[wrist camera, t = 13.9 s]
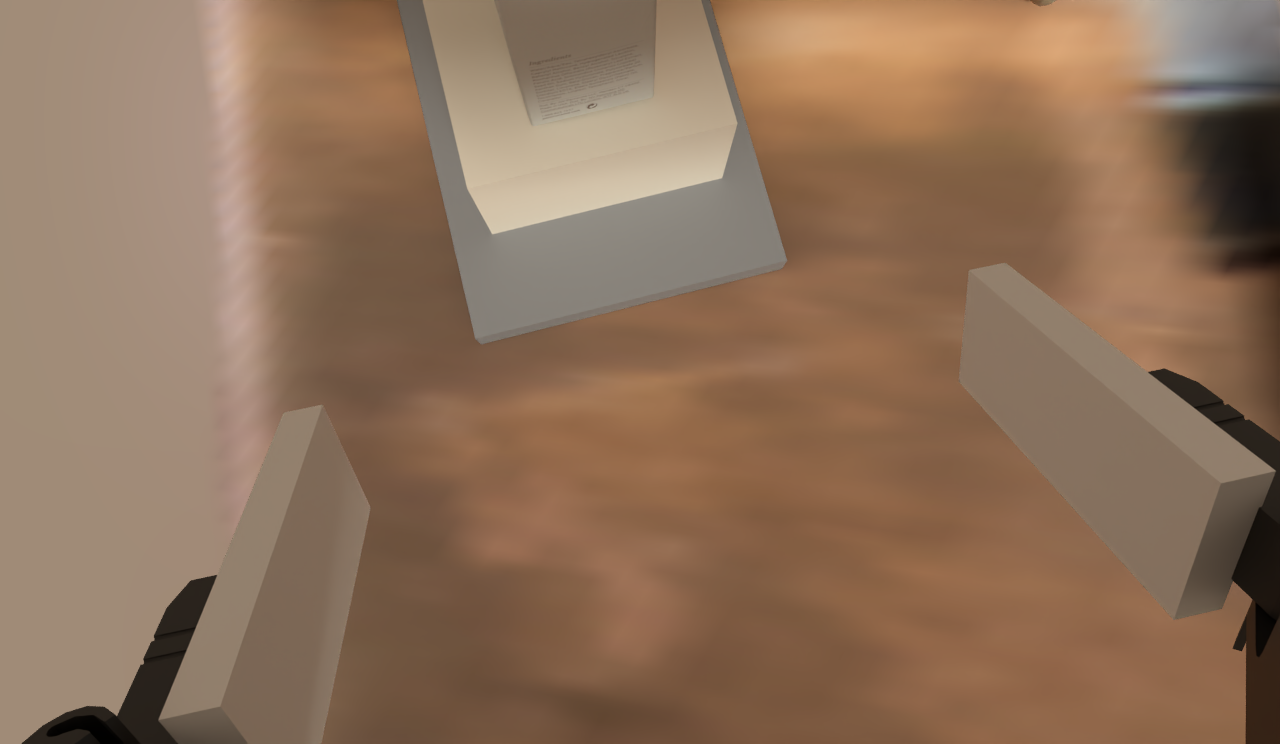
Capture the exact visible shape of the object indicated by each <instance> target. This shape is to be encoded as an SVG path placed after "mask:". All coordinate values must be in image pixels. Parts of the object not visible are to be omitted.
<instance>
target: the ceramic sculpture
mask: <svg viewBox="0 0 1280 744" xmlns="http://www.w3.org/2000/svg"><path fill="white" fill-rule="evenodd" d="M1031 1H1032V2H1033V3H1034V4H1036V5H1038V6H1046V5H1049V4H1051V3H1053V2H1054V1H1056V0H1031Z"/></svg>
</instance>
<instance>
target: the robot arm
mask: <svg viewBox="0 0 1280 744" xmlns="http://www.w3.org/2000/svg"><path fill="white" fill-rule="evenodd" d="M959 382H960V384H961V385H962V386H963V387H964V388H965V389H966V390H967V391H968V392H969V394H970V395H971V396H972V397H973V398H974V399H975V400H976V401H977V402H978V403H979V405H980V406H981V407H982V408H983V409H984V410H985V411H986V412H987V413H988V415H989V416H990V417H991V418H992V419H993V420H994V421H995V422H996V423H997V425H998V426H999V427H1000V428H1001V429H1002V430H1003V431H1004V432H1005V433H1006V435H1007V436H1008V437H1009V438H1010V439H1011V440H1012V441H1013V442H1014V443H1015V444H1016V446H1017V447H1018V448H1019V449H1020V450H1021V451H1022V452H1023V453H1024V454H1025V456H1026V457H1027V458H1028V459H1029V460H1030V461H1031V462H1032V463H1033V464H1034V466H1035V467H1036V468H1037V469H1038V470H1039V471H1040V472H1041V473H1042V474H1043V476H1044V477H1045V478H1046V479H1047V480H1048V481H1049V482H1050V483H1051V484H1052V485H1053V487H1054V488H1055V489H1056V490H1057V491H1058V492H1059V493H1060V494H1061V495H1062V497H1063V498H1064V499H1065V500H1066V501H1067V502H1068V503H1069V504H1070V505H1071V507H1072V508H1073V509H1074V510H1075V511H1076V512H1077V513H1078V514H1079V515H1080V517H1081V518H1082V519H1083V520H1084V521H1085V522H1086V523H1087V524H1088V525H1089V526H1090V528H1091V529H1092V530H1093V531H1094V532H1095V533H1096V534H1097V535H1098V536H1099V538H1100V539H1101V540H1102V541H1103V542H1104V543H1105V544H1106V545H1107V546H1108V548H1109V549H1110V550H1111V551H1112V552H1113V553H1114V554H1115V555H1116V556H1117V558H1118V559H1119V560H1120V561H1121V562H1122V563H1123V564H1124V565H1125V566H1126V567H1127V569H1128V570H1129V571H1130V572H1131V573H1132V574H1133V575H1134V576H1135V577H1136V579H1137V580H1138V581H1139V582H1140V583H1141V584H1142V585H1143V586H1144V587H1145V589H1146V590H1147V591H1148V592H1149V593H1150V594H1151V595H1152V596H1153V597H1154V599H1155V600H1156V601H1157V602H1158V603H1159V604H1160V605H1161V606H1162V607H1163V608H1164V610H1165V611H1166V612H1167V613H1168V614H1169V615H1170V616H1171V617H1172V618H1173V620H1175V619H1179V618H1184V617H1188V616H1193V615H1197V614H1201V613H1206V612H1210V611H1214V610H1219V609H1222V607H1223V605H1224V602H1225V600H1226V597H1227V595H1228V592H1229V589H1230V587H1231V584H1232V582H1233V581H1234V582H1235V583H1236V584H1237V585H1238V586H1239V587H1240V588H1241V589H1242V590H1243V591H1245V592H1246V593H1247V594H1248V595H1249V596H1250V597H1251V598H1252V599H1253V600H1252V603H1251V605H1250V607H1249V610H1248V612H1247V614H1246V617H1245V619H1244V622H1243V624H1242V626H1241V629H1240V631H1239V633H1238V636H1237V638H1236V641H1235V644H1234V646H1233V649H1236V650H1239V651H1242V650H1243V647H1244V645H1245V643H1246V744H1280V442H1279V441H1278V440H1277V439H1275V438H1274V437H1272V436H1271V435H1270V434H1268V433H1267V432H1266V431H1264V430H1263V429H1261V428H1260V427H1259V426H1257V425H1256V424H1255V423H1253V422H1252V421H1250V420H1245V419H1244V415H1242V414H1241V413H1239V412H1238V411H1237V410H1235V409H1234V408H1233V407H1231V406H1230V405H1228V404H1227V405H1224V403H1223V400H1222V399H1220V398H1219V397H1218V396H1216V395H1215V394H1213V393H1212V392H1211V391H1209V390H1208V389H1207V388H1205V387H1204V386H1202V385H1201V384H1200V383H1198V382H1196V381H1194V380H1191V379H1189V378H1186V377H1184V376H1181V375H1179V374H1176V373H1174V372H1172V371H1169V370H1167V369H1160V370H1156V371H1151V372H1147V371H1145V370H1144V369H1143V368H1141V367H1140V366H1139V365H1138V364H1136V363H1135V362H1134V361H1132V360H1131V359H1130V358H1128V357H1127V356H1126V355H1125V354H1123V353H1122V352H1121V351H1119V350H1118V349H1117V348H1115V347H1114V346H1113V345H1112V344H1110V343H1109V342H1108V341H1106V340H1105V339H1104V338H1102V337H1101V336H1100V335H1099V334H1097V333H1096V332H1095V331H1093V330H1092V329H1091V328H1089V327H1088V326H1087V325H1086V324H1084V323H1083V322H1082V321H1080V320H1079V319H1078V318H1076V317H1075V316H1074V315H1073V314H1071V313H1070V312H1069V311H1067V310H1066V309H1065V308H1063V307H1062V306H1061V305H1060V304H1058V303H1057V302H1056V301H1054V300H1053V299H1052V298H1050V297H1049V296H1048V295H1047V294H1045V293H1044V292H1043V291H1041V290H1040V289H1039V288H1037V287H1036V286H1035V285H1034V284H1032V283H1031V282H1030V281H1028V280H1027V279H1026V278H1024V277H1023V276H1022V275H1021V274H1019V273H1018V272H1017V271H1015V270H1014V269H1013V268H1011V267H1010V266H1009V265H1008V264H1006V263H1002V264H997V265H992V266H987V267H982V268H978V269H973V270H969V275H968V286H967V297H966V308H965V319H964V330H963V341H962V352H961V363H960V374H959ZM369 512H370V505H369V503H368V501H367V499H366V497H365V495H364V493H363V490H362V488H361V486H360V484H359V482H358V480H357V477H356V475H355V473H354V471H353V469H352V467H351V465H350V462H349V460H348V458H347V456H346V454H345V452H344V449H343V447H342V445H341V443H340V441H339V439H338V437H337V434H336V432H335V430H334V428H333V426H332V424H331V421H330V419H329V417H328V415H327V413H326V411H325V408H324V406H323V405H319V406H314V407H309V408H304V409H299V410H295V411H290V412H285V413H283V415H282V418H281V420H280V423H279V425H278V428H277V430H276V433H275V435H274V438H273V440H272V442H271V445H270V447H269V450H268V452H267V455H266V457H265V460H264V462H263V464H262V467H261V469H260V472H259V474H258V477H257V479H256V482H255V484H254V487H253V489H252V491H251V494H250V496H249V499H248V501H247V504H246V506H245V509H244V511H243V514H242V516H241V518H240V521H239V523H238V526H237V528H236V531H235V533H234V536H233V538H232V541H231V543H230V545H229V548H228V550H227V553H226V555H225V558H224V560H223V563H222V565H221V568H220V570H219V572H218V575H215V576H210V577H205V578H201V579H196V580H191V581H190V582H189V583H188V584H187V586H186V587H185V588H184V589H183V590H182V591H181V592H180V593H179V595H178V596H177V597H176V598H175V599H174V600H173V601H172V603H171V604H170V605H169V606H168V607H167V609H166V611H165V613H164V615H163V618H162V619H161V622H160V624H159V626H158V628H157V631H156V633H155V635H154V638H155V640H154V641H152V642H151V643H150V646H149V648H148V650H147V652H146V654H145V656H144V664H143V665H140V668H139V670H138V672H137V674H136V676H135V678H134V681H133V683H132V685H131V687H130V689H129V691H128V694H127V696H126V698H125V700H124V702H123V704H122V707H121V709H120V711H119V713H118V716H116V715H115V714H113V713H112V712H111V711H109V710H108V709H106V708H105V707H96V706H86V707H83V708H79V709H76V710H73V711H70V712H66V713H65V714H63V715H61V716H59V717H57V718H56V719H54V720H52V721H50V722H48V723H47V724H45V725H43V726H42V727H41V728H39V729H38V730H37V731H36V732H35V733H34V734H32V735H31V736H30V737H29V738H28V739H26V740H25V741H24V742H23V743H22V744H321V742H322V737H323V733H324V728H325V723H326V718H327V713H328V709H329V704H330V699H331V694H332V690H333V685H334V680H335V675H336V670H337V666H338V661H339V656H340V651H341V646H342V642H343V637H344V632H345V627H346V622H347V618H348V613H349V608H350V603H351V599H352V594H353V589H354V584H355V579H356V575H357V570H358V565H359V560H360V555H361V551H362V546H363V541H364V536H365V531H366V527H367V522H368V517H369Z"/></svg>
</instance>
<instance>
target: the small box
mask: <svg viewBox="0 0 1280 744" xmlns="http://www.w3.org/2000/svg"><path fill="white" fill-rule="evenodd" d="M494 2H495V5H496V9H497V12H498V16H499V19H500V23H501V26H502V30H503V33H504V37H505V40H506V44H507V47H508V50H509V54H510V57H511V61H512V64H513V67H514V71H515V74H516V77H517V81H518V84H519V87H520V91H521V94H522V97H523V101H524V104H525V107H526V110H527V113H528V117H529V120H530V123H531V125H532V126H537V125H541V124H545V123H549V122H553V121H558V120H562V119H566V118H570V117H574V116H579V115H583V114H586V113H590V112H594V111H599V110H603V109H607V108H611V107H615V106H619V105H624V104H628V103H632V102H636V101H640V100H644V99H649V98H652V97H653V96H654V75H655V41H656V7H657V0H494Z"/></svg>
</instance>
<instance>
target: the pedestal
mask: <svg viewBox="0 0 1280 744" xmlns="http://www.w3.org/2000/svg"><path fill="white" fill-rule="evenodd" d="M397 3H398V7H399V12H400V16H401V20H402V25H403V29H404V33H405V38H406V42H407V46H408V50H409V55H410V59H411V63H412V68H413V72H414V76H415V81H416V85H417V89H418V94H419V98H420V102H421V106H422V111H423V115H424V119H425V124H426V128H427V132H428V137H429V141H430V145H431V150H432V154H433V158H434V163H435V167H436V171H437V175H438V180H439V184H440V188H441V193H442V197H443V201H444V206H445V210H446V214H447V219H448V223H449V227H450V232H451V236H452V240H453V244H454V249H455V253H456V257H457V262H458V266H459V270H460V275H461V279H462V283H463V288H464V292H465V296H466V301H467V305H468V309H469V313H470V318H471V322H472V326H473V331H474V335H475V339H476V340H477V341H478V342H479V343H480V344H485V343H489V342H493V341H496V340H500V339H504V338H508V337H512V336H516V335H520V334H524V333H528V332H532V331H536V330H540V329H544V328H548V327H552V326H556V325H560V324H564V323H568V322H572V321H576V320H580V319H584V318H588V317H592V316H596V315H600V314H604V313H608V312H612V311H616V310H620V309H624V308H628V307H632V306H636V305H640V304H644V303H648V302H652V301H656V300H660V299H664V298H668V297H672V296H676V295H680V294H684V293H688V292H692V291H696V290H700V289H704V288H708V287H712V286H716V285H720V284H724V283H728V282H732V281H736V280H740V279H743V278H747V277H751V276H755V275H759V274H763V273H767V272H771V271H775V270H779V269H782V267H783V266H784V264H785V263H786V261H787V259H786V255H785V252H784V249H783V245H782V242H781V238H780V235H779V232H778V228H777V225H776V222H775V218H774V215H773V211H772V208H771V205H770V201H769V198H768V195H767V191H766V188H765V185H764V181H763V178H762V174H761V171H760V168H759V164H758V161H757V158H756V154H755V151H754V147H753V144H752V141H751V137H750V134H749V131H748V127H747V124H746V120H745V117H744V114H743V110H742V107H741V104H740V100H739V97H738V94H737V90H736V87H735V83H734V80H733V77H732V73H731V70H730V67H729V63H728V60H727V56H726V53H725V50H724V46H723V43H722V40H721V36H720V33H719V29H718V26H717V23H716V19H715V16H714V13H713V9H712V6H711V2H710V0H657V7H656V41H655V75H654V96H653V97H652V98H649V99H644V100H640V101H636V102H632V103H628V104H624V105H619V106H615V107H611V108H607V109H603V110H599V111H594V112H590V113H586V114H583V115H579V116H574V117H570V118H566V119H562V120H558V121H553V122H549V123H545V124H541V125H537V126H532V125H531V123H530V120H529V117H528V113H527V110H526V107H525V104H524V101H523V97H522V94H521V91H520V87H519V84H518V81H517V77H516V74H515V71H514V67H513V64H512V61H511V57H510V54H509V50H508V47H507V44H506V40H505V37H504V33H503V30H502V26H501V23H500V19H499V16H498V12H497V9H496V5H495V2H494V0H397Z"/></svg>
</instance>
